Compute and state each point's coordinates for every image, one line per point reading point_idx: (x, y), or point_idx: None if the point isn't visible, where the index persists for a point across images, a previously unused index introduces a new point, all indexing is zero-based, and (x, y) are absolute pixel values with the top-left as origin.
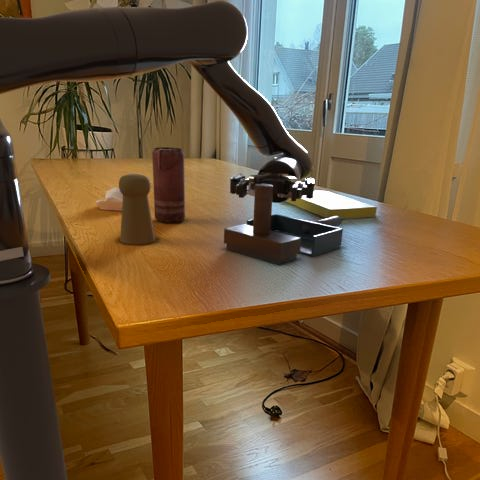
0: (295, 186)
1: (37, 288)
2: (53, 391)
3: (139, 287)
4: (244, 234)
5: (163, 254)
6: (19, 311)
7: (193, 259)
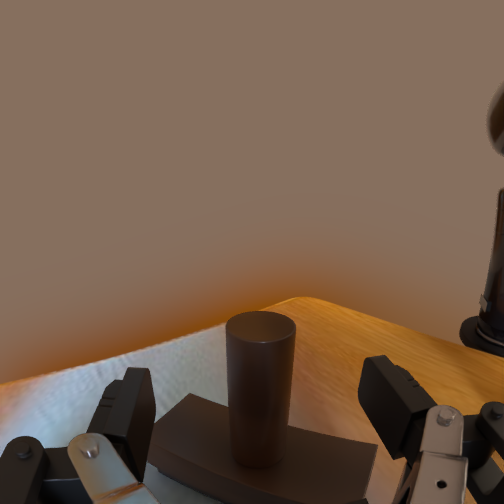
0: (130, 380)
1: (465, 343)
2: None
3: (349, 328)
4: (299, 428)
5: None
6: None
7: None
